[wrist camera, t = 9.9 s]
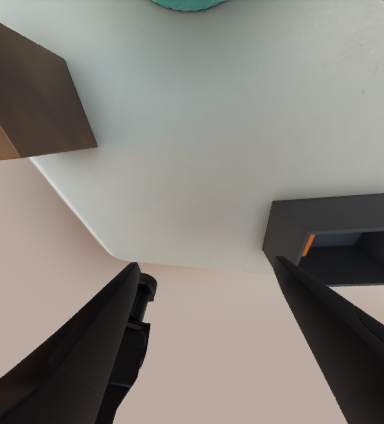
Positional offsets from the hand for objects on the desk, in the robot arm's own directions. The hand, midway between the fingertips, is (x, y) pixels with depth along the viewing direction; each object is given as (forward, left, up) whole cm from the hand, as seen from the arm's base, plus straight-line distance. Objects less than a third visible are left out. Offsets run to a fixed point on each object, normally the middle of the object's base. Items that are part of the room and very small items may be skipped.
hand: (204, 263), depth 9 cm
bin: (-7, -19, -13) cm, 24 cm away
